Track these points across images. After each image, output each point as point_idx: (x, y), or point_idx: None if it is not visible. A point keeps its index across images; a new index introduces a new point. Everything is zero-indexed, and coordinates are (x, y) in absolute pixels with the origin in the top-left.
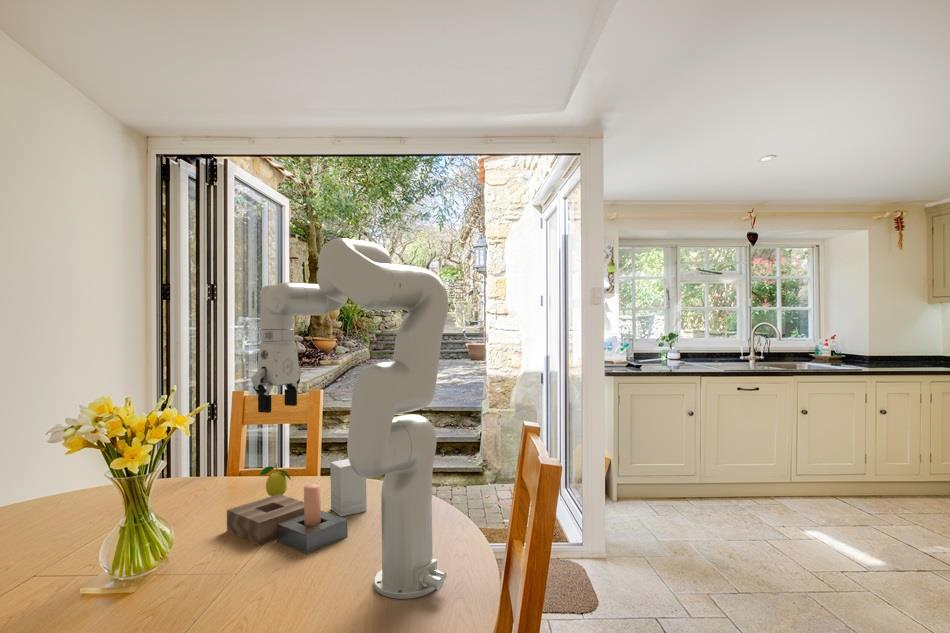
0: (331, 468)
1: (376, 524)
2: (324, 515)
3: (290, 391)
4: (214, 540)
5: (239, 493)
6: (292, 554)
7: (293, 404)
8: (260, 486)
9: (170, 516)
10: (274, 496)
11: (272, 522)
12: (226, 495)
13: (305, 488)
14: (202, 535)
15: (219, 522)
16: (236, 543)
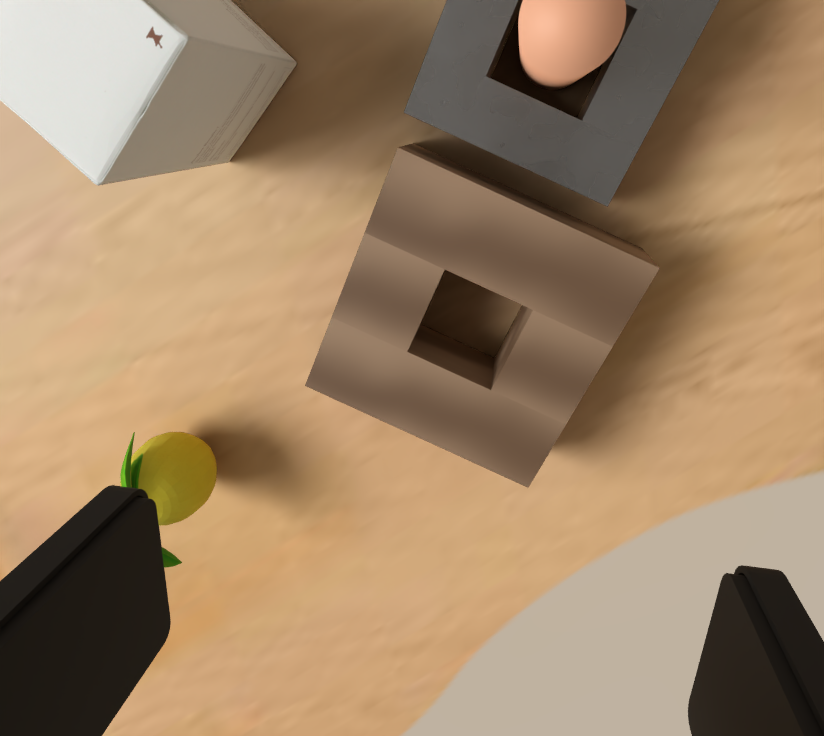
0: (132, 164)
1: None
2: (472, 27)
3: (20, 727)
4: (614, 438)
5: (196, 600)
6: (720, 49)
7: (149, 520)
8: None
9: (442, 683)
10: (338, 388)
11: (595, 236)
12: (227, 628)
13: (617, 42)
14: (577, 502)
15: (458, 514)
16: (632, 346)
